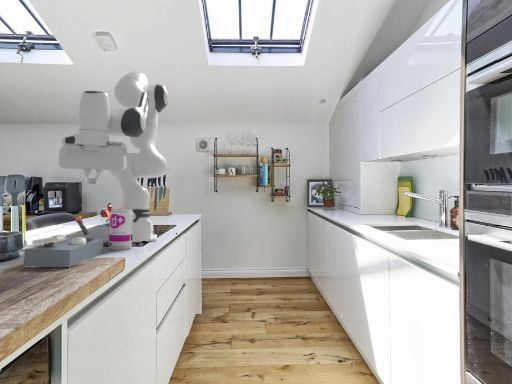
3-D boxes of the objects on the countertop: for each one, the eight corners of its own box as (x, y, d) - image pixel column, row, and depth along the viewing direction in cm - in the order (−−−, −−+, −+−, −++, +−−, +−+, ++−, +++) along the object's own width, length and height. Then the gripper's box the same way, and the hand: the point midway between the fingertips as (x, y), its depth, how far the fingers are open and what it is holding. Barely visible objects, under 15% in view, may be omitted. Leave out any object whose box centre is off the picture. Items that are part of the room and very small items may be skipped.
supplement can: (123, 250, 115) (125, 209, 115) (103, 249, 116) (105, 208, 117) (136, 247, 123) (137, 209, 123) (117, 245, 124) (119, 208, 125)
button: (75, 248, 99) (75, 237, 99) (88, 249, 99) (88, 237, 99) (68, 251, 95) (68, 238, 95) (81, 251, 95) (82, 239, 95)
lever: (85, 235, 104) (75, 217, 104) (91, 232, 104) (81, 215, 104) (82, 236, 102) (72, 218, 102) (88, 233, 102) (78, 215, 102)
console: (66, 252, 108) (67, 235, 108) (102, 253, 108) (103, 236, 108) (23, 267, 86) (24, 245, 86) (69, 268, 86) (70, 246, 87)
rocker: (41, 242, 93) (40, 238, 93) (65, 238, 93) (64, 234, 93) (32, 244, 89) (31, 240, 89) (57, 239, 89) (57, 235, 89)
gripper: (130, 143, 105) (129, 184, 105) (67, 140, 104) (66, 182, 104) (123, 141, 99) (122, 184, 99) (56, 138, 97) (55, 182, 98)
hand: (93, 183), depth 101 cm, fingers closed
